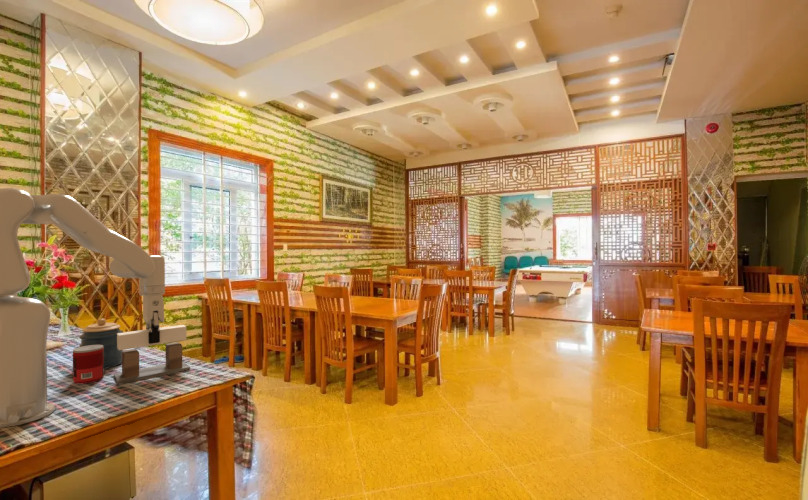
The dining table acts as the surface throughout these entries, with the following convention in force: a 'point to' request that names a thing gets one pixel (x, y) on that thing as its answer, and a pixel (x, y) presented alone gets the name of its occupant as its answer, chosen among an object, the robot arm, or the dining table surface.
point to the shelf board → (142, 337)
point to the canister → (104, 340)
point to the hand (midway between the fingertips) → (152, 341)
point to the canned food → (88, 364)
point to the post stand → (134, 373)
